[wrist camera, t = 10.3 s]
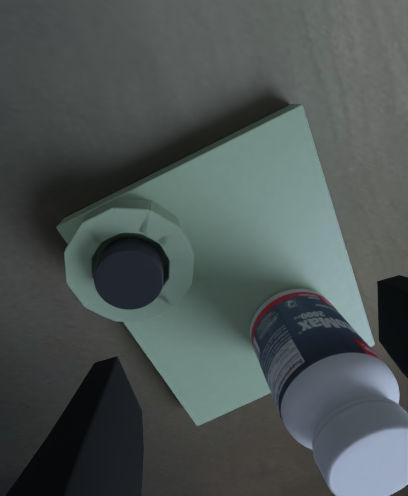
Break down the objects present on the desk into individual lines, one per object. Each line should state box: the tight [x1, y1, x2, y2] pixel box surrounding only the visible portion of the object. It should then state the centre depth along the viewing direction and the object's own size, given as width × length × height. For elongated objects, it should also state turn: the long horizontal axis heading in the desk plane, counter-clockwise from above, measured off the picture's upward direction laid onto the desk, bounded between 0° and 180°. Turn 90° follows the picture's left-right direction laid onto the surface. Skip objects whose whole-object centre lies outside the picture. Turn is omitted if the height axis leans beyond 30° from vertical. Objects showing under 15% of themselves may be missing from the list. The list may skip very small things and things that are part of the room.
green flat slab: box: [56, 104, 375, 426], centre depth 19 cm, size 16×14×3 cm
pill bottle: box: [250, 289, 408, 496], centre depth 16 cm, size 5×5×9 cm
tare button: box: [94, 237, 164, 310], centre depth 15 cm, size 3×3×2 cm
